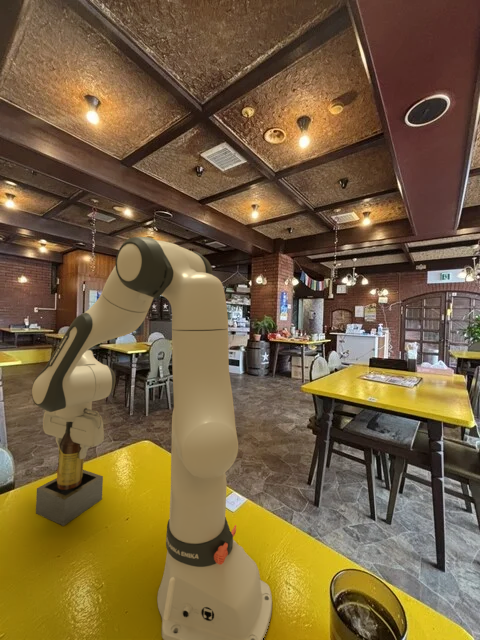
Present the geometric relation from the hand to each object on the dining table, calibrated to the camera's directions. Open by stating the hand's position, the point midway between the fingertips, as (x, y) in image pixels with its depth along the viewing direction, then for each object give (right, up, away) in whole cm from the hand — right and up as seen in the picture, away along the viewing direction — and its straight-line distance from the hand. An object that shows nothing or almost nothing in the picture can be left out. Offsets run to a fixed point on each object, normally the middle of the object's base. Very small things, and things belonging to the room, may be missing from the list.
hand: (71, 454), depth 80 cm
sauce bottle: (-1, -9, 0) cm, 9 cm away
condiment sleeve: (-1, -15, 0) cm, 15 cm away
